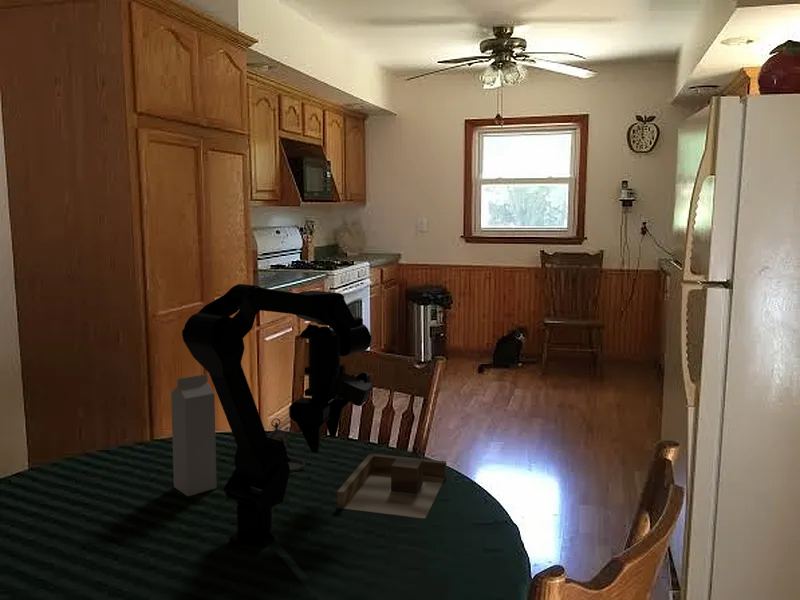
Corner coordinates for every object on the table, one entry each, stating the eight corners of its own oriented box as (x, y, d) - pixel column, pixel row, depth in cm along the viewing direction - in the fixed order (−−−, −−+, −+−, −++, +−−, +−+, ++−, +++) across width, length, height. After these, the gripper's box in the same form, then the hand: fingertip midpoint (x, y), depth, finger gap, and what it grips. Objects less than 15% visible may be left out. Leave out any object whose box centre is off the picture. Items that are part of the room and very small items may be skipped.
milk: (216, 488, 131) (215, 377, 128) (187, 497, 127) (184, 382, 124) (202, 479, 135) (200, 371, 133) (172, 487, 131) (170, 375, 128)
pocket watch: (301, 474, 138) (301, 427, 137) (260, 473, 139) (260, 426, 137) (308, 460, 147) (308, 415, 145) (269, 459, 147) (268, 414, 145)
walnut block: (416, 494, 127) (417, 468, 126) (391, 491, 128) (391, 465, 128) (422, 484, 132) (423, 459, 131) (397, 481, 133) (397, 456, 132)
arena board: (424, 524, 117) (425, 501, 117) (337, 512, 121) (337, 491, 120) (445, 480, 136) (446, 461, 136) (369, 472, 140) (369, 453, 140)
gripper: (350, 375, 112) (349, 466, 113) (381, 353, 129) (380, 432, 131) (287, 370, 114) (287, 460, 116) (326, 349, 132) (326, 427, 134)
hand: (324, 444), depth 124 cm, fingers open, 9 cm apart
